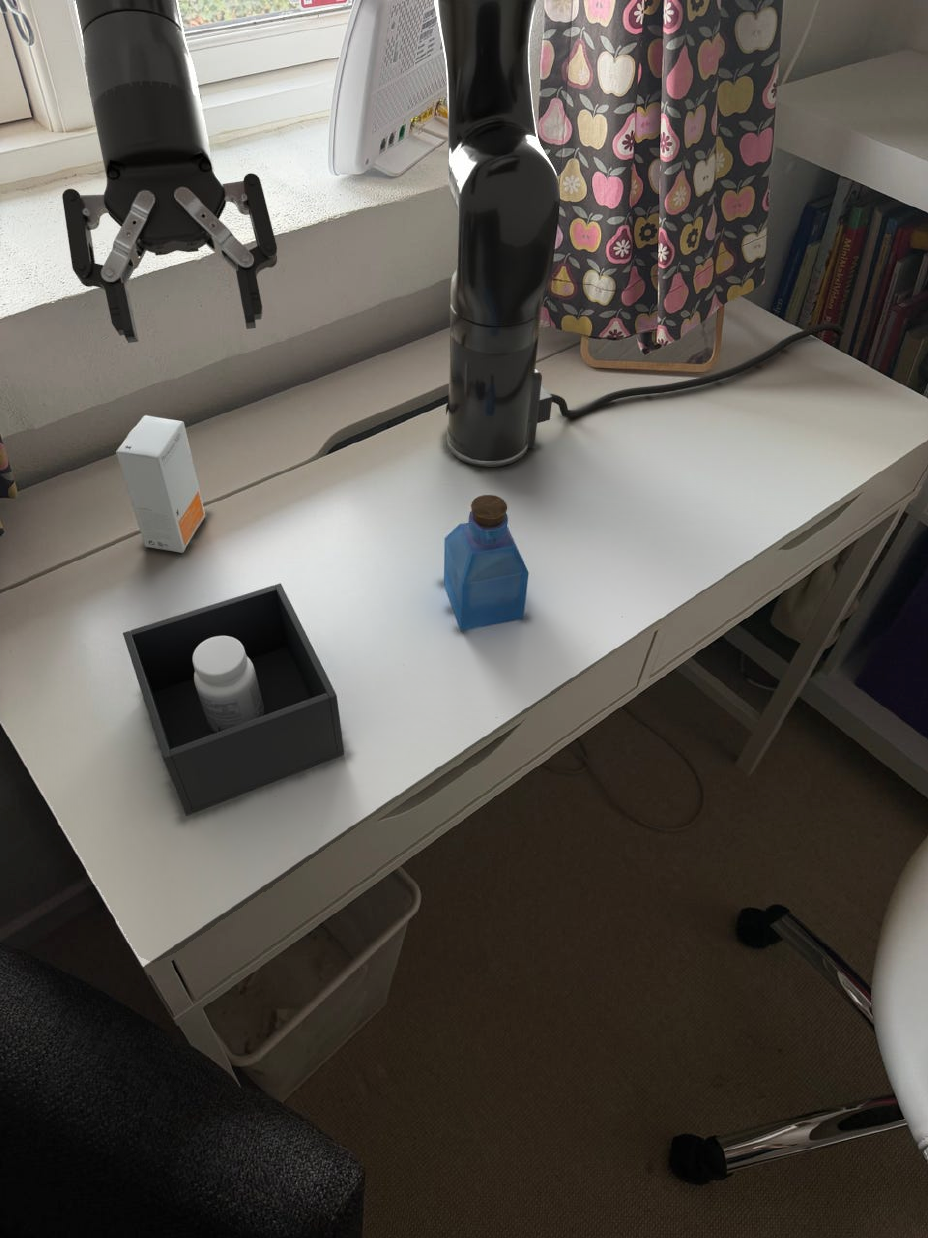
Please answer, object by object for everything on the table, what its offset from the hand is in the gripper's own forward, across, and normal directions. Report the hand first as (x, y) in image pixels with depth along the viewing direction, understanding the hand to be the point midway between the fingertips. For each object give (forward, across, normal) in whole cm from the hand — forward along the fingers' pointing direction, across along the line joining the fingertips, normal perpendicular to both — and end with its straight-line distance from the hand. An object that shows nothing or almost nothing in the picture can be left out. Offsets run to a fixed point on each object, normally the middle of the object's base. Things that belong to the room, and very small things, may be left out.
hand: (192, 332), depth 65 cm
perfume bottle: (+24, +21, +15) cm, 36 cm away
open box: (+30, -2, +9) cm, 32 cm away
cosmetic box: (+12, -6, +27) cm, 30 cm away
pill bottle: (+30, -3, +8) cm, 31 cm away
